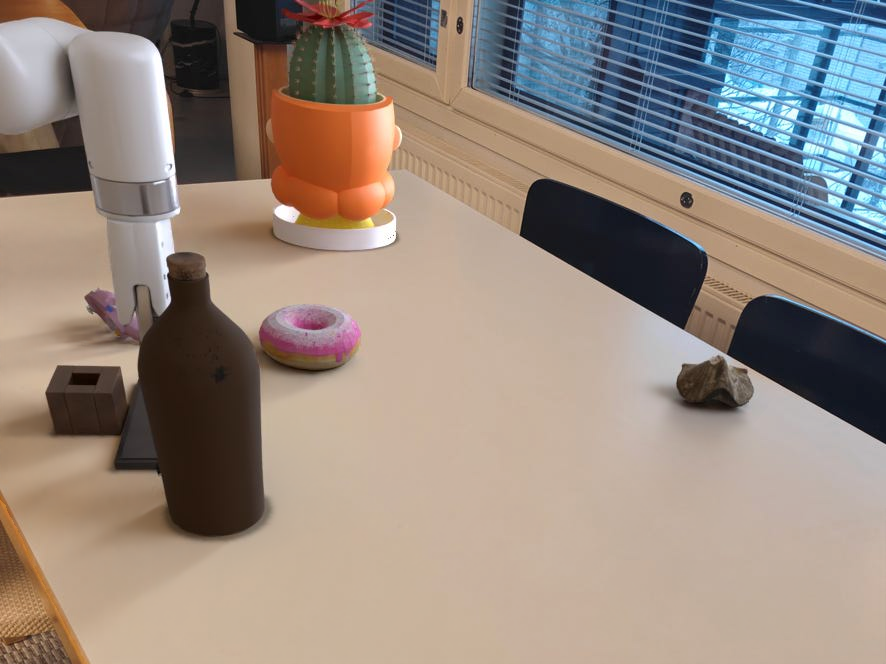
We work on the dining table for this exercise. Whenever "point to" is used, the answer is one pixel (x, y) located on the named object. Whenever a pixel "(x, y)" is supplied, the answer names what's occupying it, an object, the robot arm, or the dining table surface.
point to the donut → (310, 336)
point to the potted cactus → (332, 138)
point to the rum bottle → (203, 407)
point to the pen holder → (87, 399)
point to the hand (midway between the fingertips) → (164, 378)
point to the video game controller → (110, 313)
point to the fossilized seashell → (715, 382)
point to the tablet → (136, 438)
